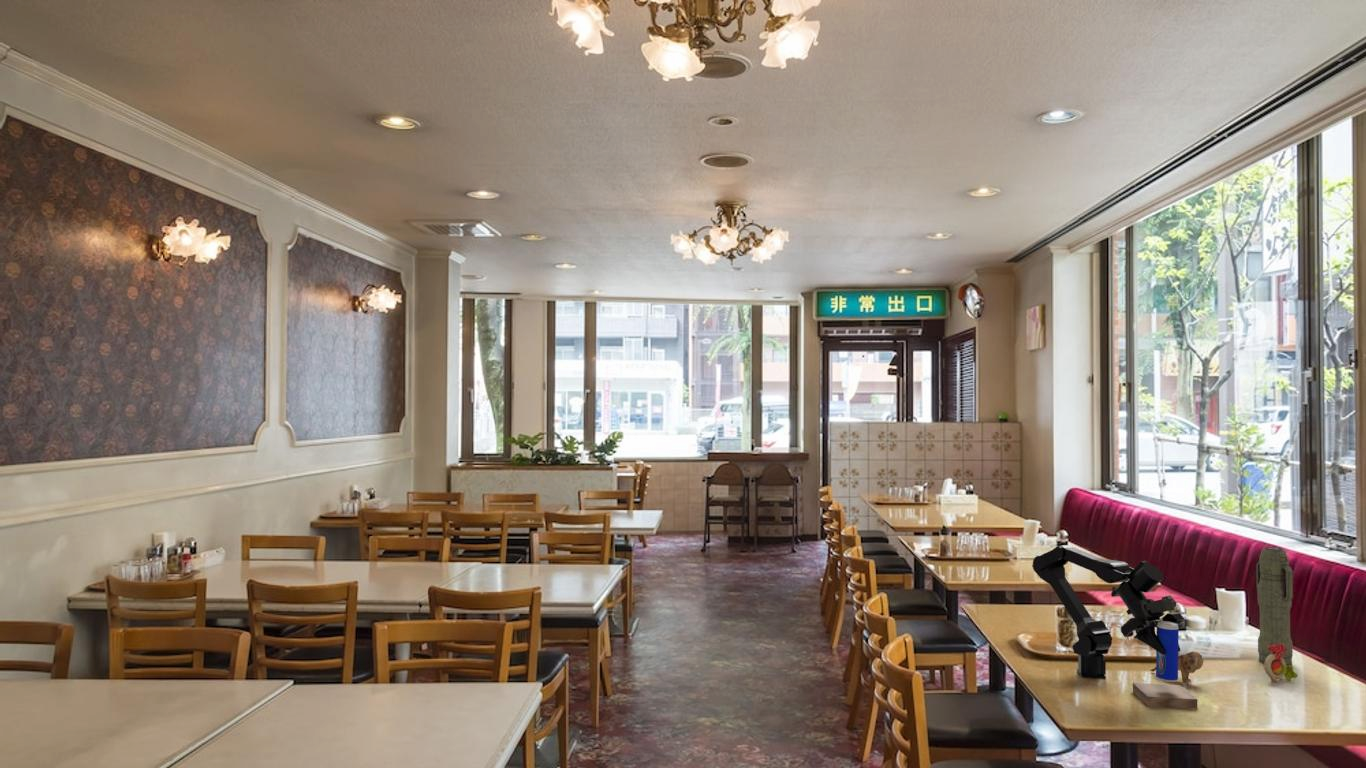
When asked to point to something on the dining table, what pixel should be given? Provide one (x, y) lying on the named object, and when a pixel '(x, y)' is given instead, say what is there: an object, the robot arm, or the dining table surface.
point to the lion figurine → (1188, 664)
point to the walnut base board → (1164, 695)
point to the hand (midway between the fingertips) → (1172, 652)
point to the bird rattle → (1278, 664)
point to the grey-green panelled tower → (1274, 601)
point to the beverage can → (1167, 652)
